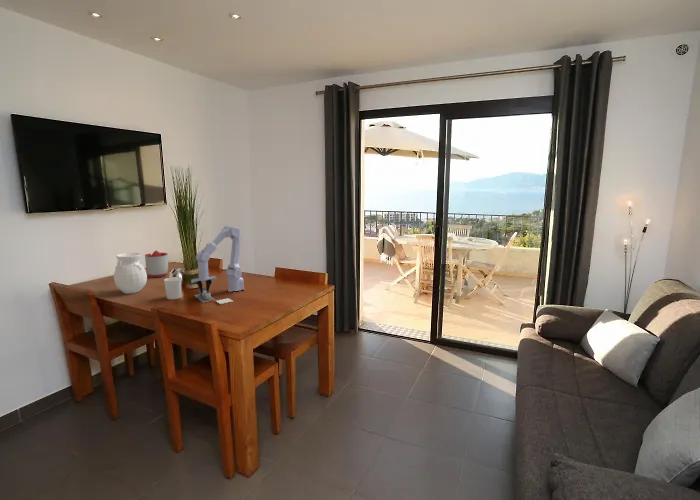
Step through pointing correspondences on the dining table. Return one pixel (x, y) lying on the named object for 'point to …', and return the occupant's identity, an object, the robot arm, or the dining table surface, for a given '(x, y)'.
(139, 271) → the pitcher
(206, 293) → the two-tone grey bar
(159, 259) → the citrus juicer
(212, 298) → the mat
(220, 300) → the tile
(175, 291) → the candle holder
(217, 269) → the dining table surface
